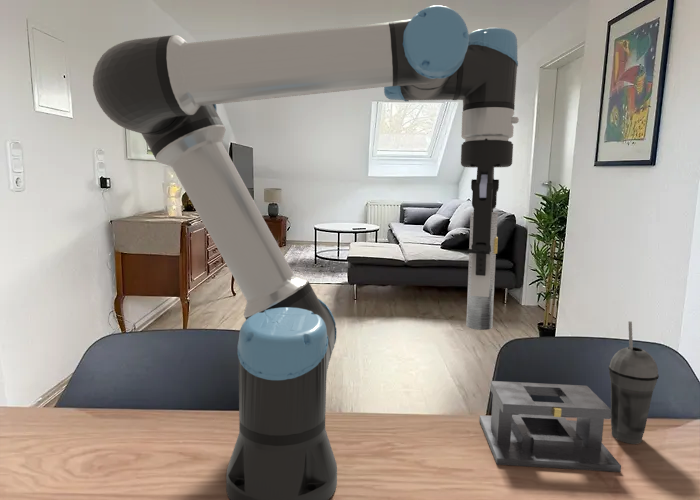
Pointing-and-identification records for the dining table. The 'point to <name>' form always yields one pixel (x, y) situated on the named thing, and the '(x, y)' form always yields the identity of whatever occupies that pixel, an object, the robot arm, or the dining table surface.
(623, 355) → the beverage cup
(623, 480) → the dining table surface
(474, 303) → the silver metal cylinder
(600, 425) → the grey holder stand
